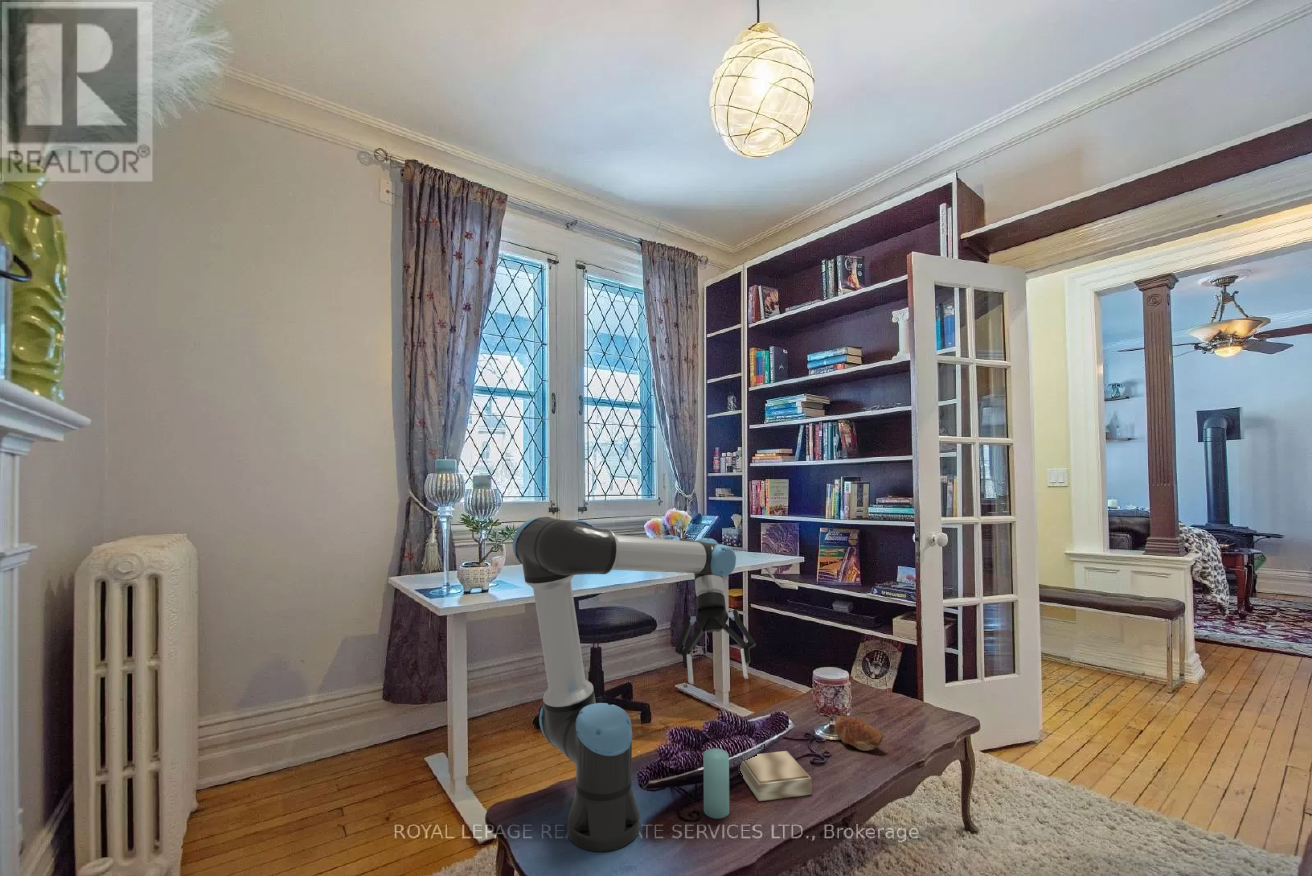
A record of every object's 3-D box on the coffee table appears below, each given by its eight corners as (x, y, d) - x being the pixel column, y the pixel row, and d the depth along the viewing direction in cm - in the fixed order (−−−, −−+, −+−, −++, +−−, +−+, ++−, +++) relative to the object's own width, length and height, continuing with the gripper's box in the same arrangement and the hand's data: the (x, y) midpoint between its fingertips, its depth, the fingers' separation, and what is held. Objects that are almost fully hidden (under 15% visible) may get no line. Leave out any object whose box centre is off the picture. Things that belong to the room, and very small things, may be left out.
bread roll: (826, 722, 161) (846, 696, 159) (847, 731, 164) (868, 705, 162) (848, 759, 149) (870, 731, 147) (870, 769, 152) (893, 741, 150)
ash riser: (758, 801, 129) (758, 782, 129) (738, 771, 141) (738, 755, 142) (811, 794, 131) (811, 776, 131) (787, 766, 144) (787, 749, 144)
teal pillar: (708, 820, 122) (707, 762, 122) (700, 805, 127) (700, 749, 128) (732, 816, 123) (732, 759, 124) (724, 802, 128) (724, 747, 129)
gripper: (758, 594, 152) (770, 678, 140) (667, 605, 156) (671, 688, 144) (755, 585, 146) (768, 672, 134) (661, 596, 151) (665, 681, 138)
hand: (718, 680), depth 139 cm, fingers open, 13 cm apart
